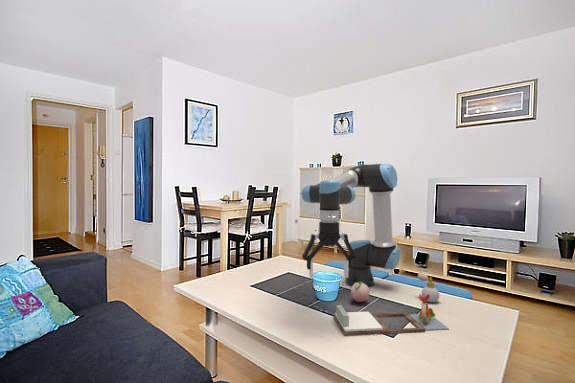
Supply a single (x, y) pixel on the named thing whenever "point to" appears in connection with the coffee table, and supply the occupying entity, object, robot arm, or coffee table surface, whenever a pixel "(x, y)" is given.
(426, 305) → the bird rattle
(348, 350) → the coffee table surface
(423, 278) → the perfume bottle
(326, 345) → the coffee table surface
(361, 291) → the decorative fruit
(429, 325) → the slate mat
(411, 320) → the puzzle board
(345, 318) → the sliding cover
